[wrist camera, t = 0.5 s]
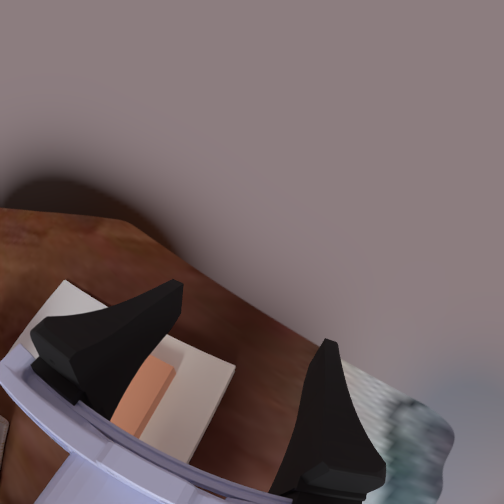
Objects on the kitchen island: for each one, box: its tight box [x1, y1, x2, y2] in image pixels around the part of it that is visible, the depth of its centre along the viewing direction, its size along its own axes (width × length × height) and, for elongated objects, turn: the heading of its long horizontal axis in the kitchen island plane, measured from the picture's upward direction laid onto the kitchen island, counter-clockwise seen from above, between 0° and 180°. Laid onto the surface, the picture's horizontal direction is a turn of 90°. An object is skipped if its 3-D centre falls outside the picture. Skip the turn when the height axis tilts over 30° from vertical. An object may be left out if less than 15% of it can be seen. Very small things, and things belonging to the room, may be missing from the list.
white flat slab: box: [112, 335, 235, 464], centre depth 25 cm, size 16×14×2 cm
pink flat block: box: [110, 355, 176, 439], centre depth 23 cm, size 9×6×2 cm, turn 158°
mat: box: [8, 280, 107, 359], centre depth 28 cm, size 16×12×1 cm
